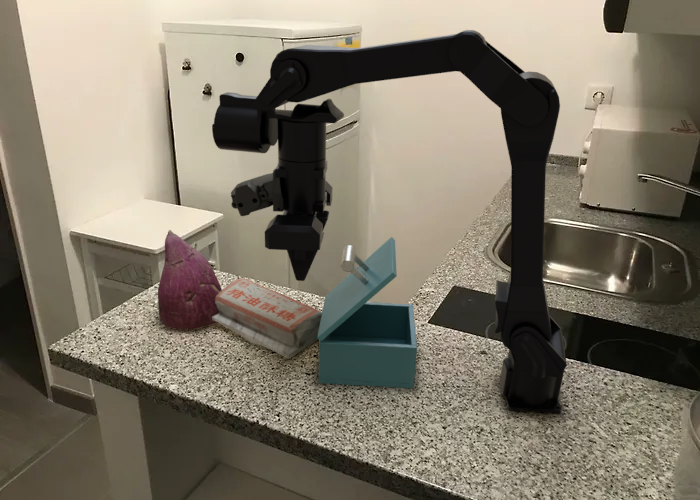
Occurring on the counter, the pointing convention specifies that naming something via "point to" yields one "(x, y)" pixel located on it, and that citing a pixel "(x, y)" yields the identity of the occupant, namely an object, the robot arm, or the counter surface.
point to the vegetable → (186, 287)
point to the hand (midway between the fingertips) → (302, 273)
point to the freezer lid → (357, 285)
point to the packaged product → (267, 317)
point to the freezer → (371, 348)
